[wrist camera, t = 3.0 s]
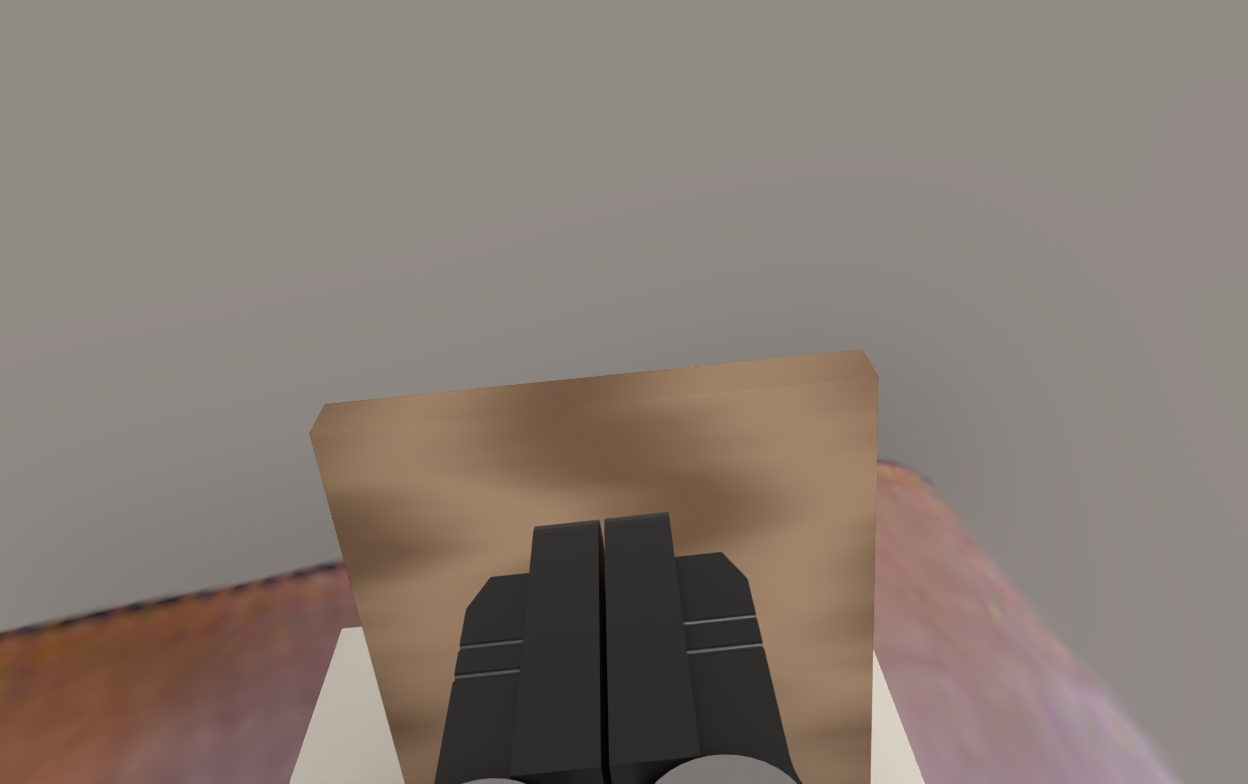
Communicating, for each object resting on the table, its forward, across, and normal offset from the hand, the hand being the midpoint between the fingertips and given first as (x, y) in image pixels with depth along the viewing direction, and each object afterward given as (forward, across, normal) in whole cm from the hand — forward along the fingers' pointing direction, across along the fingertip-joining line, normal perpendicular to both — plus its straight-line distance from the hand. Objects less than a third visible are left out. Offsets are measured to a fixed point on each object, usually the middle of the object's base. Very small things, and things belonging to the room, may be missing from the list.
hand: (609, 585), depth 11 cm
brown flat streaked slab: (+8, +2, +17) cm, 19 cm away
